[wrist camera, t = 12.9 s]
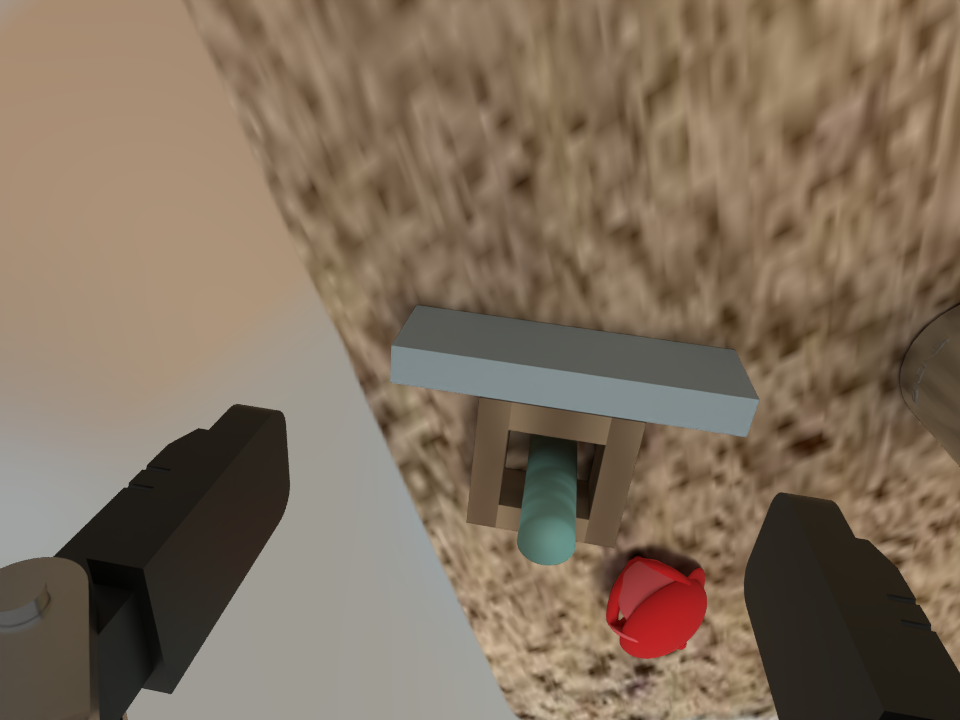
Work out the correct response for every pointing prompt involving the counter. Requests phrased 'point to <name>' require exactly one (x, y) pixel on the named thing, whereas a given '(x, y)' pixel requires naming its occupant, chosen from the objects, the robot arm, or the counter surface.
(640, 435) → the holed block
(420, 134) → the counter surface
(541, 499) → the dowel
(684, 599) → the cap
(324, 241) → the counter surface
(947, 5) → the counter surface
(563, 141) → the counter surface
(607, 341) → the wall
